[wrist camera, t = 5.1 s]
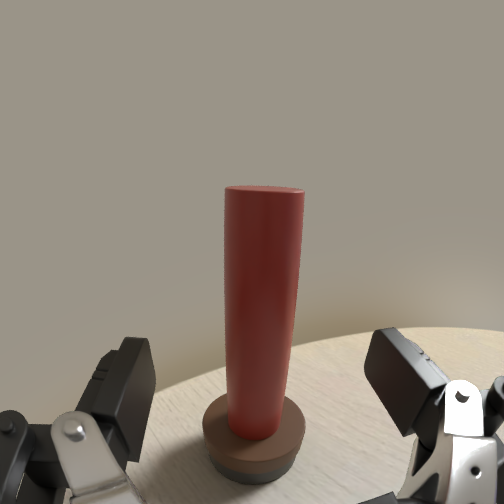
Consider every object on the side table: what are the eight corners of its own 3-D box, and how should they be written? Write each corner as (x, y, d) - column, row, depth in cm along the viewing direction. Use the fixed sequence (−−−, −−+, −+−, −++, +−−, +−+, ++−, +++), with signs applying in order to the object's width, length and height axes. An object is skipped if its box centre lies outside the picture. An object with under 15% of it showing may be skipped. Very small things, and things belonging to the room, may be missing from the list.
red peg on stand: (240, 501, 10) (243, 198, 6) (191, 438, 14) (162, 186, 10) (315, 455, 12) (375, 196, 8) (261, 407, 16) (274, 183, 13)
